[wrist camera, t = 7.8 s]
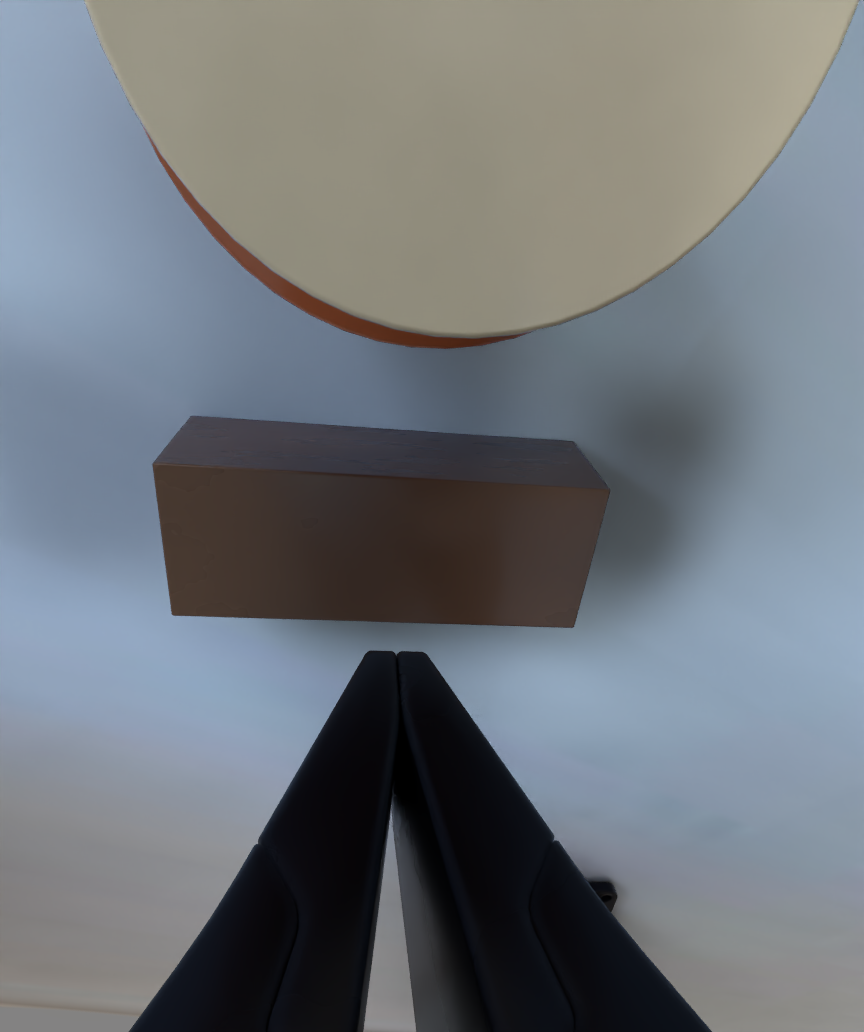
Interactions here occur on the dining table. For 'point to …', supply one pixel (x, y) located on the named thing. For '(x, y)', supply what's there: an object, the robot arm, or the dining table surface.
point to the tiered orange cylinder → (465, 143)
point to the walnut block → (375, 524)
